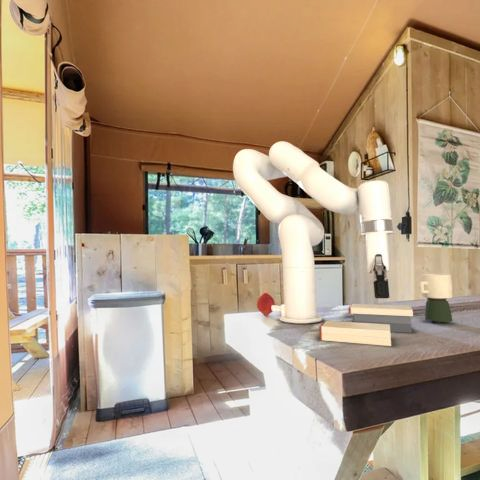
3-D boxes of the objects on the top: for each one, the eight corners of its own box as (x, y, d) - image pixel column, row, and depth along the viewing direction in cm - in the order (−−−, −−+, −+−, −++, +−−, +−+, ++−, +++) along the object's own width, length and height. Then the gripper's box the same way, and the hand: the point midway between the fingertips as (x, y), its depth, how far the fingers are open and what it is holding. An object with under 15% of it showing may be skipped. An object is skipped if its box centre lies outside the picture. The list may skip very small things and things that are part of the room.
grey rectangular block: (351, 329, 78) (350, 313, 78) (353, 324, 83) (353, 309, 83) (411, 333, 72) (410, 315, 72) (409, 328, 77) (408, 312, 77)
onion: (275, 314, 101) (274, 290, 102) (275, 317, 96) (274, 291, 96) (257, 314, 102) (256, 290, 103) (257, 317, 96) (256, 292, 97)
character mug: (441, 318, 88) (438, 273, 89) (466, 323, 81) (462, 274, 82) (411, 321, 85) (408, 274, 86) (434, 326, 78) (431, 275, 79)
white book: (348, 313, 77) (348, 307, 77) (351, 309, 84) (351, 303, 84) (413, 316, 71) (412, 309, 71) (410, 311, 78) (410, 305, 78)
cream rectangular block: (319, 340, 67) (318, 326, 68) (325, 333, 74) (324, 320, 74) (391, 346, 61) (390, 331, 62) (390, 338, 68) (389, 324, 68)
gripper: (363, 233, 88) (368, 292, 87) (358, 227, 73) (364, 300, 71) (392, 230, 85) (397, 292, 83) (393, 224, 69) (400, 300, 68)
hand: (382, 296), depth 77 cm, fingers open, 9 cm apart
